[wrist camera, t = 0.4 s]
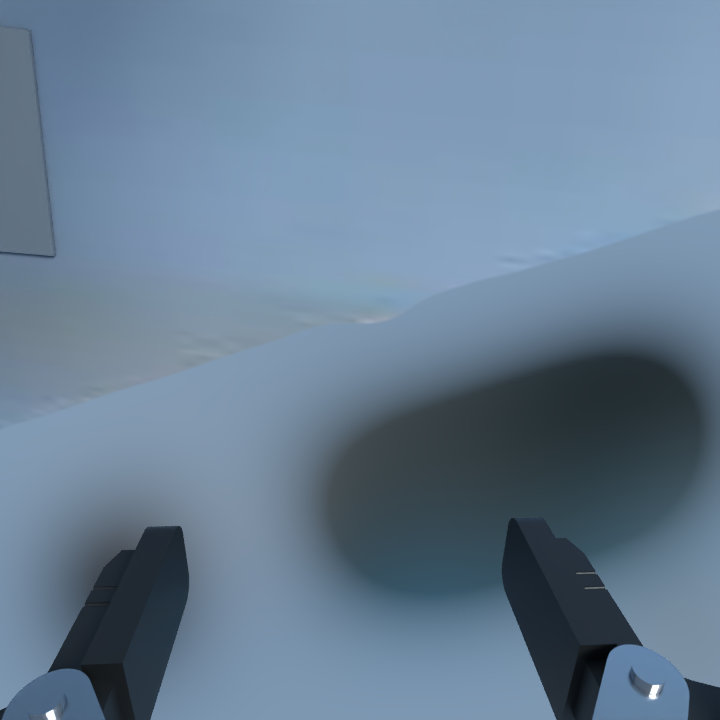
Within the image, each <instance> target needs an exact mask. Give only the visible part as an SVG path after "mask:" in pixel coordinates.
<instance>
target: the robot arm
mask: <svg viewBox="0 0 720 720" xmlns="http://www.w3.org/2000/svg"><path fill="white" fill-rule="evenodd" d="M502 579H503V585H504V589H505V592H506V595H507V598H508V600H509V602H510V605H511V607H512V610H513V612H514V615H515V617H516V620H517V622H518V625H519V627H520V630H521V632H522V634H523V637H524V640H525V642H526V645H527V647H528V650H529V652H530V655H531V657H532V660H533V662H534V665H535V667H536V670H537V672H538V674H539V677H540V680H541V682H542V685H543V687H544V690H545V692H546V694H547V697H548V699H549V702H550V704H551V707H552V709H553V712H554V714H555V717H556V719H557V720H720V688H719V687H715V686H711V685H707V684H703V683H699V682H695V681H692V680H689V679H686V678H683V676H682V675H681V673H680V672H679V671H678V669H677V668H676V667H675V666H674V665H673V664H672V663H671V662H670V661H668V660H667V659H666V658H665V657H663V656H661V655H660V654H658V653H656V652H654V651H653V650H650V649H648V648H645V647H643V645H642V644H641V642H640V641H639V639H638V638H637V636H636V634H635V633H634V631H633V630H632V628H631V626H630V625H629V623H628V622H627V620H626V619H625V617H624V615H623V614H622V612H621V611H620V609H619V608H618V606H617V604H616V603H615V601H614V600H613V598H612V597H611V595H610V593H609V592H608V590H605V586H604V584H603V583H602V581H601V579H600V578H599V576H598V575H596V573H595V570H594V568H593V567H592V565H591V564H590V562H589V560H588V559H587V557H586V556H585V554H584V553H583V552H582V551H581V550H579V549H578V548H577V547H576V546H575V545H574V544H572V543H571V542H570V541H569V540H567V539H566V538H555V536H554V535H553V533H552V531H551V530H550V528H549V526H548V525H547V523H546V521H545V520H544V519H543V518H541V517H532V518H511V519H510V521H509V524H508V530H507V536H506V543H505V549H504V555H503V562H502ZM188 590H189V573H188V566H187V558H186V551H185V544H184V538H183V531H182V528H181V527H180V526H164V527H147V528H146V529H145V531H144V533H143V535H142V537H141V539H140V541H139V543H138V545H137V548H136V550H122V551H121V552H120V553H119V554H118V555H117V556H116V557H114V558H113V559H112V560H111V561H110V562H109V563H108V564H107V565H106V566H105V567H104V568H103V570H102V573H101V574H100V576H99V578H98V580H97V581H96V583H95V585H94V589H93V591H91V593H90V595H89V597H88V598H87V600H86V602H85V607H83V608H82V610H81V611H80V613H79V615H78V617H77V619H76V621H75V623H74V624H73V626H72V628H71V630H70V632H69V634H68V636H67V638H66V640H65V641H64V643H63V645H62V647H61V649H60V651H59V653H58V655H57V657H56V658H55V660H54V662H53V664H52V666H51V668H50V669H49V671H48V673H46V674H44V675H42V676H40V677H38V678H37V679H35V680H33V681H32V682H30V683H29V684H28V685H26V686H25V687H24V688H23V689H22V690H20V691H19V692H18V694H17V695H16V696H15V697H14V698H13V699H12V701H11V702H10V703H9V705H8V706H7V707H6V708H4V709H2V710H0V720H150V718H151V715H152V712H153V709H154V706H155V702H156V699H157V696H158V693H159V689H160V686H161V683H162V679H163V677H164V673H165V670H166V667H167V663H168V660H169V657H170V654H171V651H172V647H173V644H174V641H175V638H176V635H177V631H178V628H179V624H180V621H181V618H182V615H183V611H184V609H185V605H186V602H187V597H188Z"/></svg>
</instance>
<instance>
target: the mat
mask: <svg viewBox="0 0 720 720" xmlns="http://www.w3.org/2000/svg"><path fill="white" fill-rule="evenodd" d="M0 251H1V252H13V253H24V254H36V255H47V256H55V255H56V253H55V244H54V235H53V226H52V217H51V208H50V199H49V190H48V181H47V172H46V163H45V154H44V145H43V136H42V127H41V118H40V109H39V100H38V91H37V82H36V73H35V64H34V55H33V46H32V37H31V31H30V30H27V29H19V28H11V27H3V26H0Z"/></svg>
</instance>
